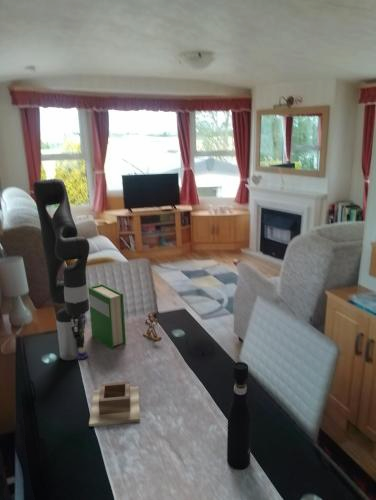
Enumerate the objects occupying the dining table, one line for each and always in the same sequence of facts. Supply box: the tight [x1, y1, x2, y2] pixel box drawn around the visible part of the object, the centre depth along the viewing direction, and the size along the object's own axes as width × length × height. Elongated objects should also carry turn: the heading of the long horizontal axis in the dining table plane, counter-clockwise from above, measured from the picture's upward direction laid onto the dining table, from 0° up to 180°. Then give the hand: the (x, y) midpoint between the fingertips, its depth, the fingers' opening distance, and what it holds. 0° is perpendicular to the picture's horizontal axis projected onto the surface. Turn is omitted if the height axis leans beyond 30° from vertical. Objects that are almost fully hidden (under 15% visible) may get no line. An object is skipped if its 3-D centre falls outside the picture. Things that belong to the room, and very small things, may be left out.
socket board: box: [88, 380, 141, 427], centre depth 134 cm, size 18×16×6 cm
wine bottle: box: [226, 361, 252, 471], centre depth 107 cm, size 6×6×30 cm
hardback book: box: [87, 283, 127, 350], centre depth 179 cm, size 18×7×24 cm, turn 41°
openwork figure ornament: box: [142, 312, 162, 342], centre depth 182 cm, size 9×4×12 cm, turn 47°
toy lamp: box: [71, 314, 90, 362], centre depth 132 cm, size 5×5×17 cm
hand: (80, 345), depth 133 cm, fingers closed on toy lamp
